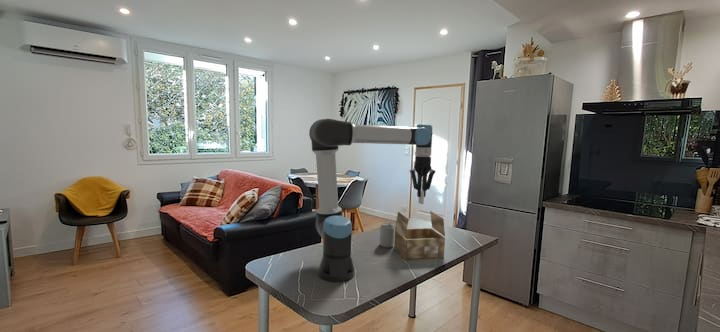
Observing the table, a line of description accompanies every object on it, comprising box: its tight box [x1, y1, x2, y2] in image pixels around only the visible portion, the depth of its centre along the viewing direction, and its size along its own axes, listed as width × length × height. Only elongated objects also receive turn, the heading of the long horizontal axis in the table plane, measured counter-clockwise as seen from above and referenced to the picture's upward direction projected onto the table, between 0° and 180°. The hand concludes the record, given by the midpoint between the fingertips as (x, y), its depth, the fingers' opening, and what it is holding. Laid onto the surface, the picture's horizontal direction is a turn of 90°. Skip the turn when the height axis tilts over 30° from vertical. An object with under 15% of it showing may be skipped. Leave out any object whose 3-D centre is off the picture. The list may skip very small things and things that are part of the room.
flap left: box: [394, 211, 410, 238], centre depth 157 cm, size 9×14×1 cm
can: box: [379, 221, 395, 248], centre depth 169 cm, size 8×8×12 cm
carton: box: [393, 227, 446, 261], centre depth 160 cm, size 20×17×10 cm
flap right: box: [429, 210, 446, 237], centre depth 161 cm, size 9×14×1 cm
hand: (421, 203), depth 158 cm, fingers closed
